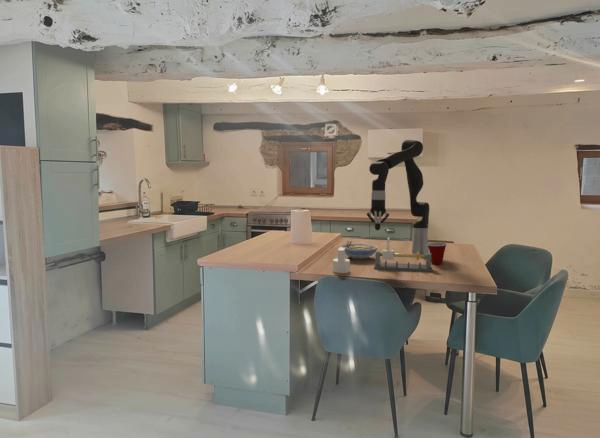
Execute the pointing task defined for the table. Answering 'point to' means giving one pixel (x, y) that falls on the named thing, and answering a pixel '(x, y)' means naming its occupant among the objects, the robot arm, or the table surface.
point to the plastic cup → (437, 252)
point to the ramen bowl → (359, 250)
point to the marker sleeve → (388, 253)
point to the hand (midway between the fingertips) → (377, 230)
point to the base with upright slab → (341, 262)
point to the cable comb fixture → (404, 266)
